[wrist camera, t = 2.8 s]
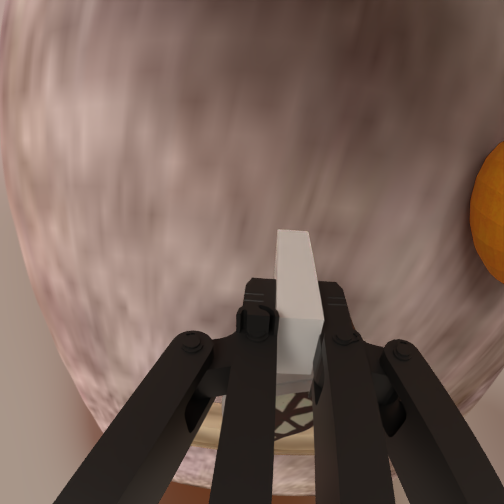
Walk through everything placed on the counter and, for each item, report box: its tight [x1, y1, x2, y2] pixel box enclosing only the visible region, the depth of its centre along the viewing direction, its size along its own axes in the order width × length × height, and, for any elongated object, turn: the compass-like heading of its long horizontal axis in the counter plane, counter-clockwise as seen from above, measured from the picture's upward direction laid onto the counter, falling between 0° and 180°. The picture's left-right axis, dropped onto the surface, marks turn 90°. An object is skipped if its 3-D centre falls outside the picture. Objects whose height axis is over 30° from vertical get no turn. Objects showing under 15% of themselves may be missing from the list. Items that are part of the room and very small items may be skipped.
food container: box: [222, 320, 355, 441], centre depth 21 cm, size 12×6×10 cm, turn 143°
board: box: [191, 403, 315, 455], centre depth 32 cm, size 6×24×4 cm, turn 88°
